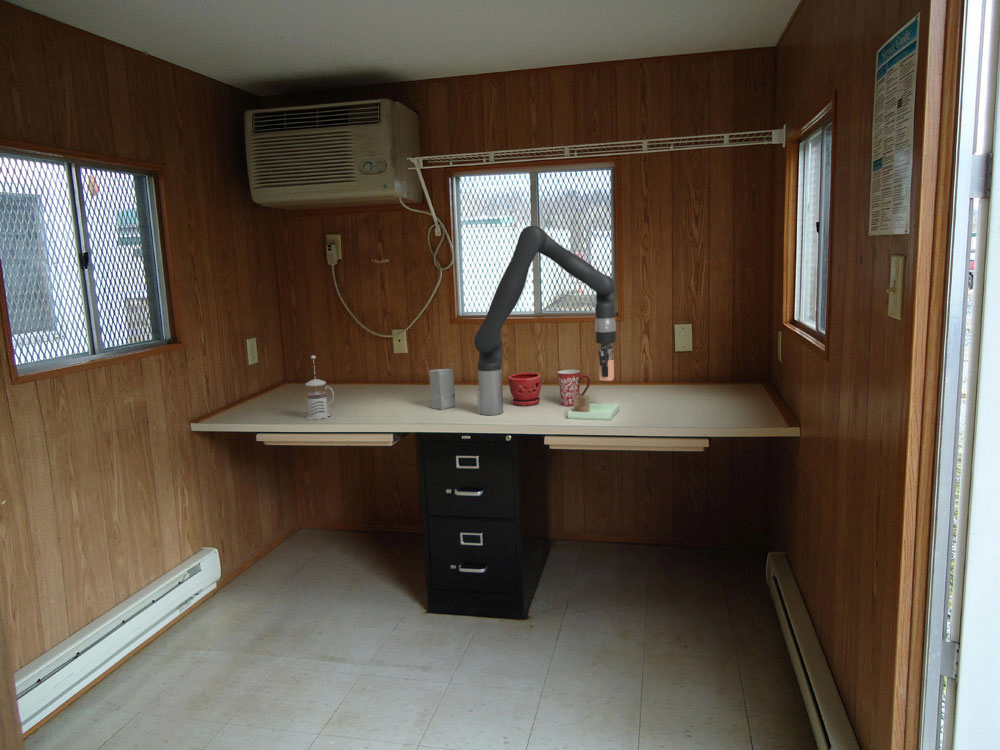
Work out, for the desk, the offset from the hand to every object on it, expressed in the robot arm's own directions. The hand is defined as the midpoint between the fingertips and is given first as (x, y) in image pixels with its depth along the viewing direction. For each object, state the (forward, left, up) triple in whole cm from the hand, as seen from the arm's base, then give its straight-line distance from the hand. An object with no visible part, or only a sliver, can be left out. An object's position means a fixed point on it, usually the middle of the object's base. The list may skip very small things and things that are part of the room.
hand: (606, 375), depth 271 cm
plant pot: (-37, +12, -15) cm, 41 cm away
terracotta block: (0, 0, -2) cm, 2 cm away
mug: (-17, +14, -15) cm, 26 cm away
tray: (-5, -3, -15) cm, 15 cm away
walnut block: (-8, -7, -14) cm, 18 cm away
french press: (-112, -23, -15) cm, 115 cm away
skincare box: (-69, +1, -15) cm, 70 cm away
